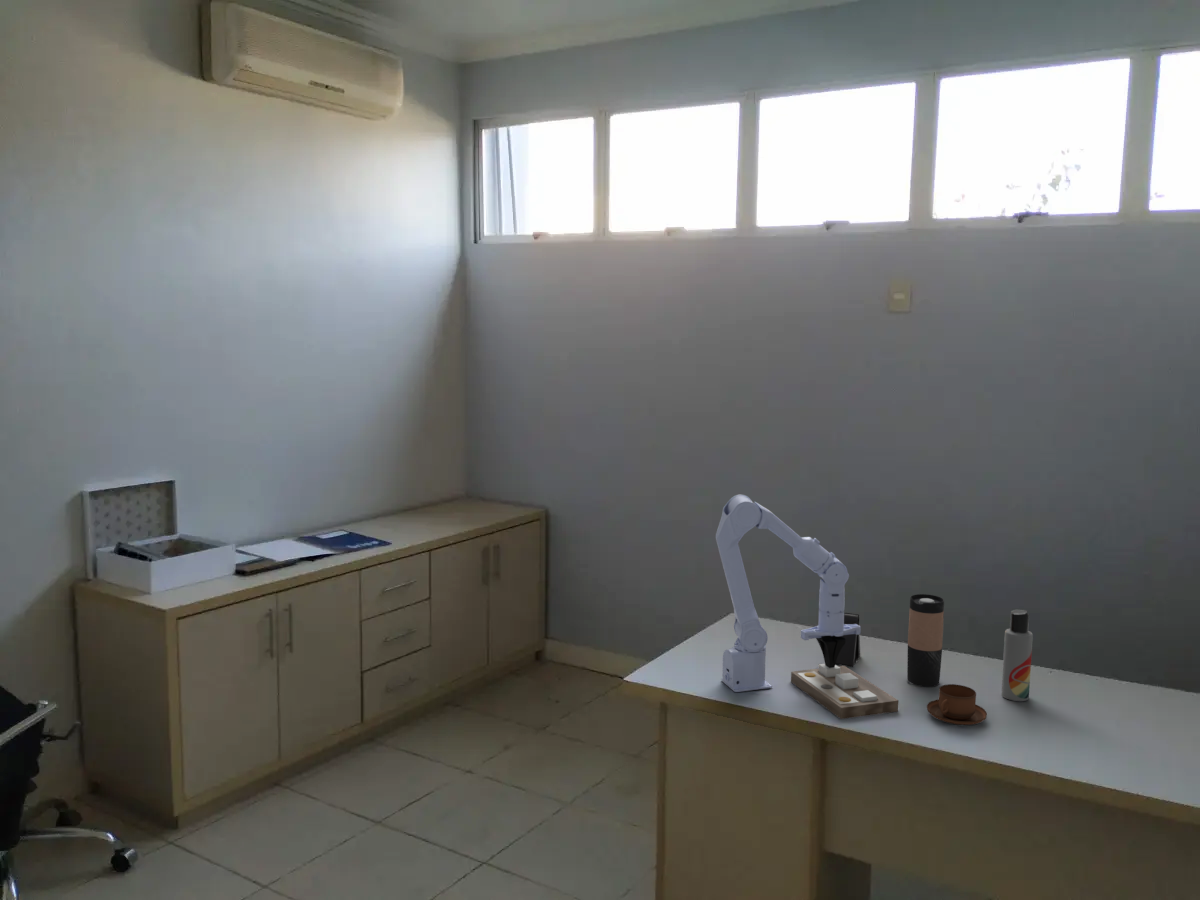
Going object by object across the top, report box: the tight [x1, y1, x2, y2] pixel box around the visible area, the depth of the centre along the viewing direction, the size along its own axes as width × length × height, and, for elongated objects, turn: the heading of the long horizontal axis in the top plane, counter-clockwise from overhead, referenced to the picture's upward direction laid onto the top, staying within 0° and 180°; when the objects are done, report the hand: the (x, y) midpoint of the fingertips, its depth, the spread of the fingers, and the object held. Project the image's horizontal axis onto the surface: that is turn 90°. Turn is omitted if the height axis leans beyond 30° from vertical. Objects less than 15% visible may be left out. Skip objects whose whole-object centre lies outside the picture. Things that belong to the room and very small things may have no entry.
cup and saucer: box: [926, 683, 988, 726], centre depth 199 cm, size 12×12×6 cm
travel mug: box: [906, 593, 945, 688], centre depth 219 cm, size 8×8×20 cm
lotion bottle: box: [1001, 609, 1034, 702], centre depth 210 cm, size 6×6×20 cm
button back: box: [818, 663, 841, 677], centre depth 218 cm, size 4×4×3 cm
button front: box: [853, 690, 877, 702], centre depth 204 cm, size 4×4×3 cm
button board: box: [790, 665, 899, 720], centre depth 211 cm, size 14×22×3 cm, turn 17°
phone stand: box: [835, 612, 861, 668], centre depth 234 cm, size 9×6×12 cm, turn 153°
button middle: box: [835, 673, 858, 689], centre depth 211 cm, size 4×4×3 cm
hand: (829, 666), depth 218 cm, fingers closed, pressing on button back
